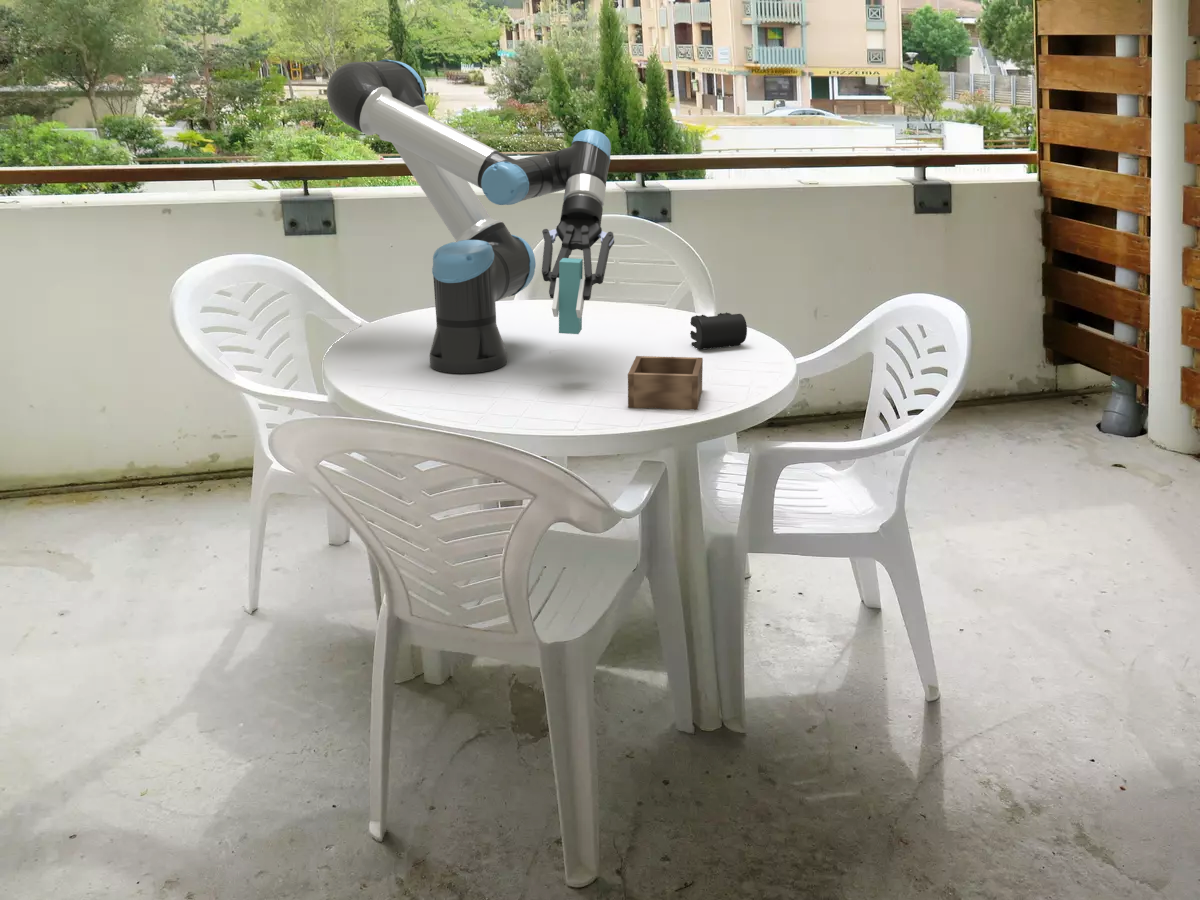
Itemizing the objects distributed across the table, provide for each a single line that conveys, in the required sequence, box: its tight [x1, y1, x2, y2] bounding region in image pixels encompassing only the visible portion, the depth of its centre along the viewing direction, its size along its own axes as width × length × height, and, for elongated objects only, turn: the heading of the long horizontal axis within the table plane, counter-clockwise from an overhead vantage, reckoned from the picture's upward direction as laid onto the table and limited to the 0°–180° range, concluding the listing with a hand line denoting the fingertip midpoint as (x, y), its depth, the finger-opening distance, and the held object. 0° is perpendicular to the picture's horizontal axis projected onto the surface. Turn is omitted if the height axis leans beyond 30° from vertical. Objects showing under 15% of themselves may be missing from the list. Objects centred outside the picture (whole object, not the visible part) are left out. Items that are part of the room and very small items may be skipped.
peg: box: [558, 257, 584, 335], centre depth 211 cm, size 4×4×13 cm
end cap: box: [689, 311, 748, 351], centre depth 240 cm, size 10×7×7 cm
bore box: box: [627, 355, 704, 411], centre depth 206 cm, size 12×12×6 cm
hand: (566, 313), depth 208 cm, fingers closed on peg, 4 cm apart
